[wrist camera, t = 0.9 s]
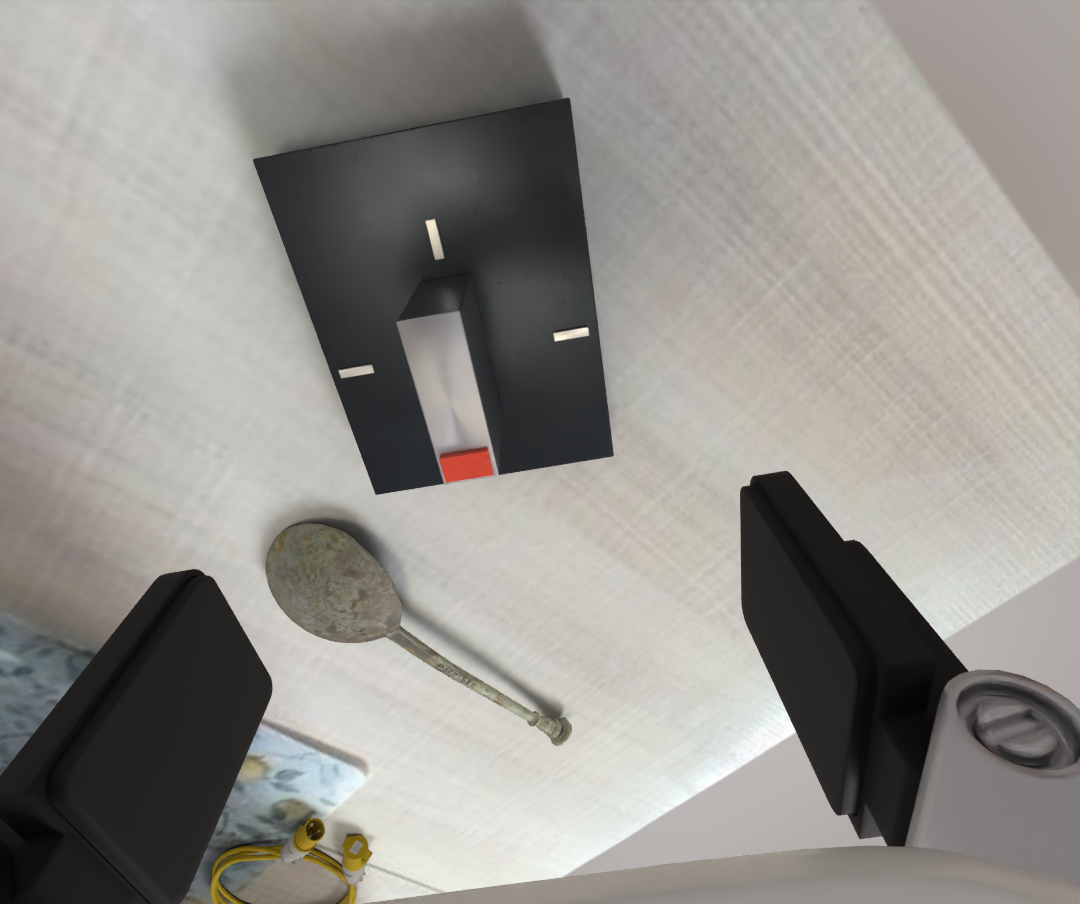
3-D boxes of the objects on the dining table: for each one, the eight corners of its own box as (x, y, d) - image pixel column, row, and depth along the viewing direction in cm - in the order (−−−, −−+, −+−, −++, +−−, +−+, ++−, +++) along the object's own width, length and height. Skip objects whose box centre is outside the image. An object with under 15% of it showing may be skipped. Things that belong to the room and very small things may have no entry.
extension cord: (427, 875, 48) (423, 903, 46) (280, 929, 52) (271, 957, 50) (326, 803, 43) (318, 832, 41) (170, 869, 46) (157, 898, 45)
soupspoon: (324, 488, 31) (252, 554, 33) (300, 528, 28) (223, 597, 30) (599, 701, 38) (525, 743, 41) (602, 750, 35) (522, 792, 38)
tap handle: (418, 282, 22) (393, 324, 18) (470, 273, 22) (459, 312, 18) (456, 422, 25) (443, 488, 21) (502, 414, 25) (499, 479, 21)
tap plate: (277, 155, 22) (250, 159, 20) (564, 99, 22) (570, 97, 20) (386, 467, 29) (374, 497, 27) (606, 430, 29) (614, 458, 26)
